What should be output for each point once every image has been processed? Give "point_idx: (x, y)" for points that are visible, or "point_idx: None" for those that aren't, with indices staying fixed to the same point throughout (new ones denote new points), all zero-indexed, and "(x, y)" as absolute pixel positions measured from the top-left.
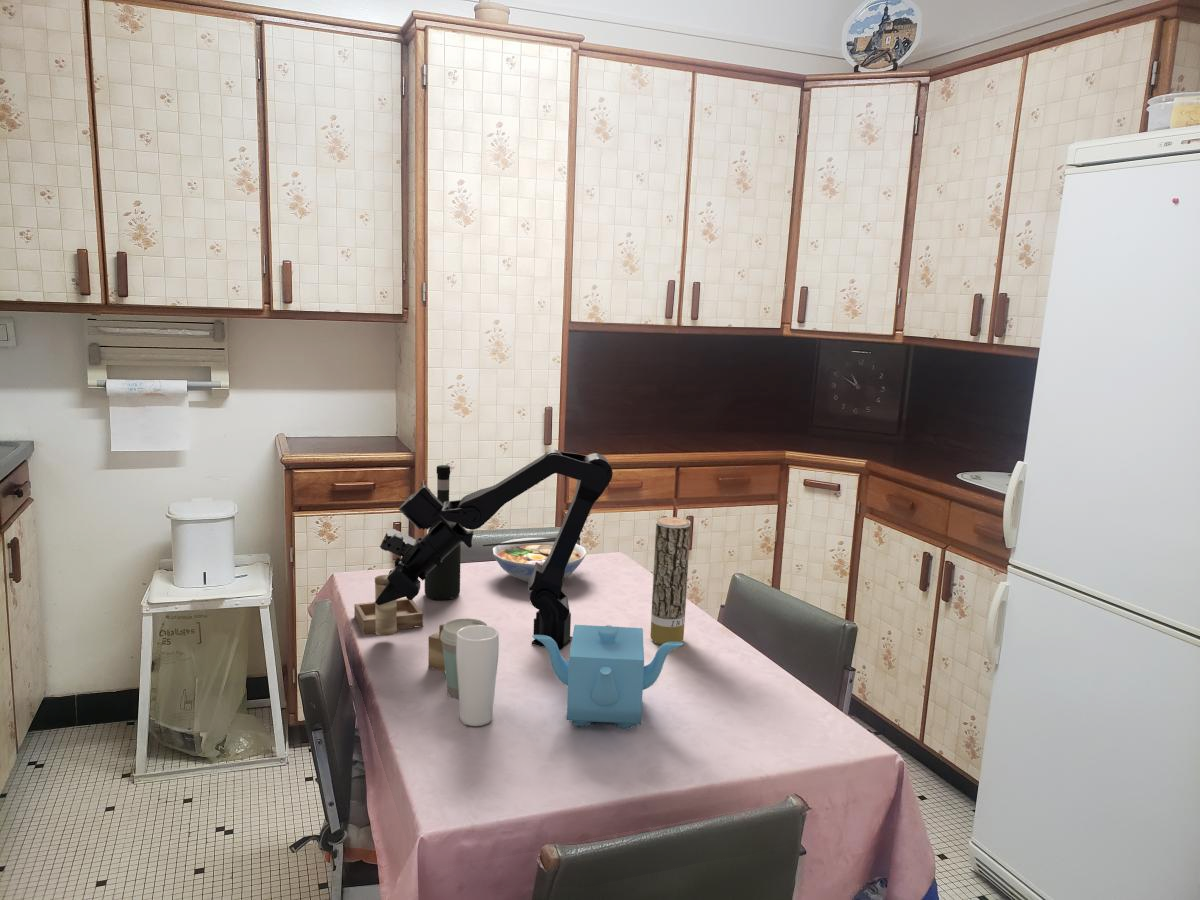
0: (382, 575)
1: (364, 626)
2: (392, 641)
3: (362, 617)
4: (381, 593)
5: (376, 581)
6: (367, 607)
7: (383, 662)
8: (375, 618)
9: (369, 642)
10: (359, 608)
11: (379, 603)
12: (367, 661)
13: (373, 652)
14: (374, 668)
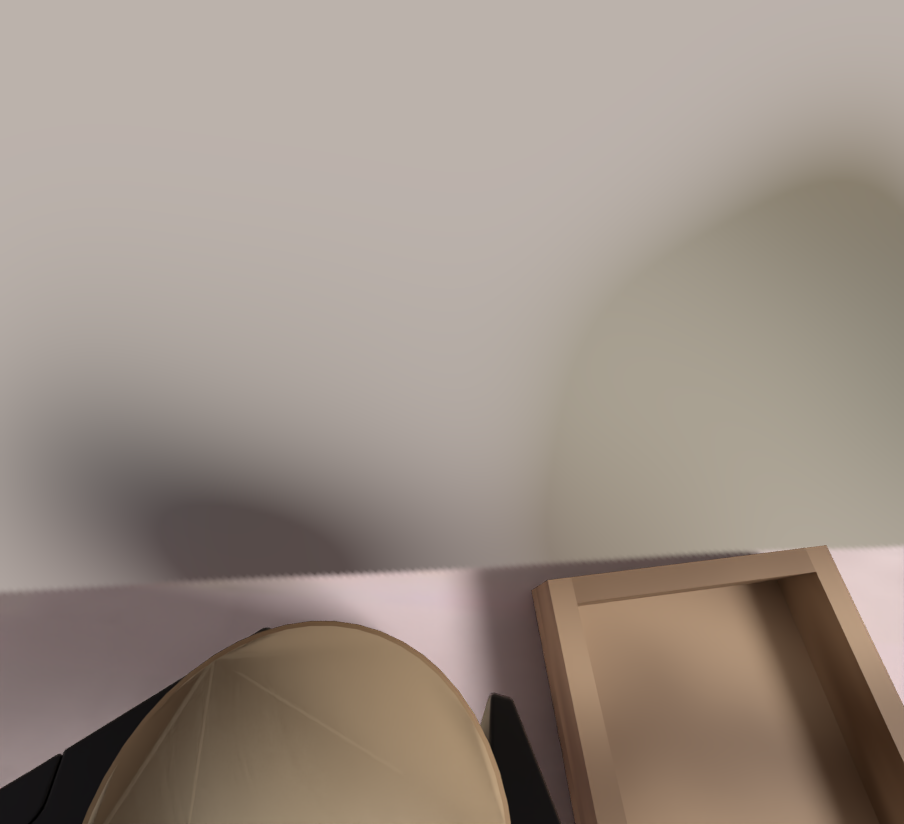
0: (484, 797)
1: (541, 590)
2: None
3: (599, 577)
4: (135, 707)
5: (244, 644)
6: (824, 628)
7: (113, 667)
8: (574, 661)
9: (409, 612)
10: (754, 570)
11: None
12: (169, 582)
13: (269, 623)
14: (65, 610)
